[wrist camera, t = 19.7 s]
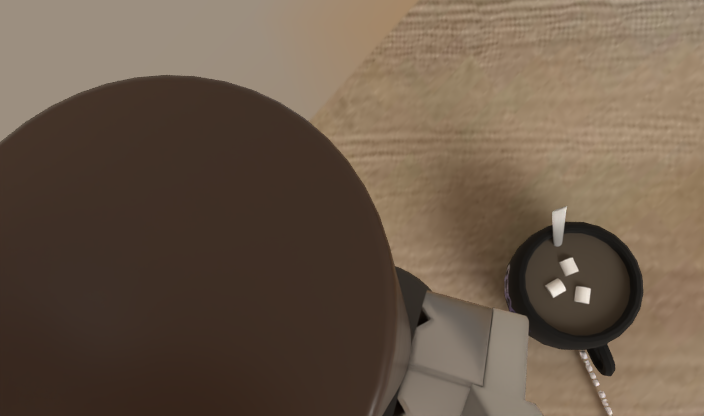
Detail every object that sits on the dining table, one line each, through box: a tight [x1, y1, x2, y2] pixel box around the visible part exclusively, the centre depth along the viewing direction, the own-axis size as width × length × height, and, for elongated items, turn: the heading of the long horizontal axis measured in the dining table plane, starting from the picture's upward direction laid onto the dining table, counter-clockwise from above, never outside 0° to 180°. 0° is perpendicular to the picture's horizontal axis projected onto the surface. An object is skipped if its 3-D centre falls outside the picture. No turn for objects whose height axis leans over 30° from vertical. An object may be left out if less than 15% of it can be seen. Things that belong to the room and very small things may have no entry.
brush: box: [0, 75, 431, 416], centre depth 10 cm, size 4×4×16 cm
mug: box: [504, 206, 643, 416], centre depth 30 cm, size 12×6×8 cm, turn 20°
